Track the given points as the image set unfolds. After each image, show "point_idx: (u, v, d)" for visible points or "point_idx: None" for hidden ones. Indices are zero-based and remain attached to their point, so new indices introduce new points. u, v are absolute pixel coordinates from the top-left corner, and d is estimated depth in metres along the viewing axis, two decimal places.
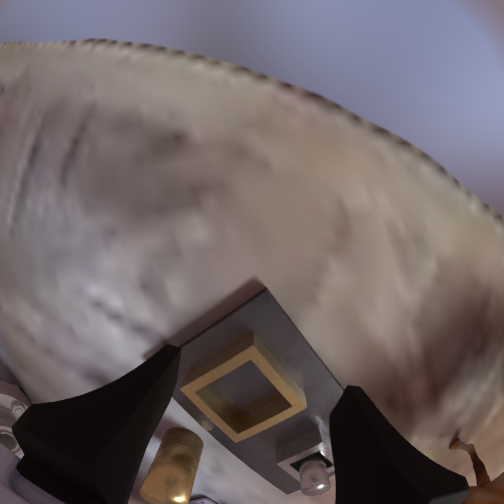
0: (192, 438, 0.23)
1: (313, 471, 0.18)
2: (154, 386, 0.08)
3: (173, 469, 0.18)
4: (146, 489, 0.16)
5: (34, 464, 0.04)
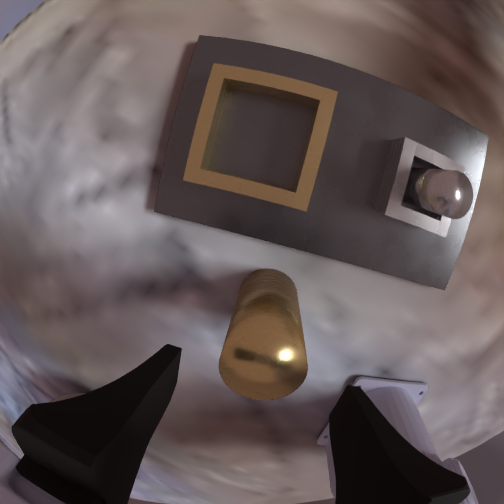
0: (268, 273, 0.19)
1: (431, 176, 0.12)
2: (154, 386, 0.08)
3: (251, 309, 0.14)
4: (225, 364, 0.12)
5: (34, 464, 0.04)
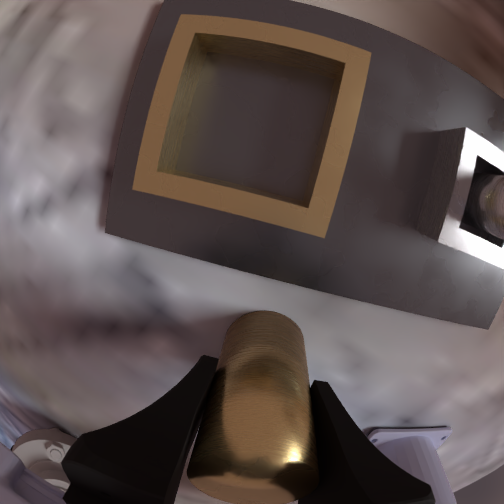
0: (264, 319, 0.13)
1: None
2: (200, 401, 0.08)
3: (235, 393, 0.09)
4: (197, 475, 0.07)
5: (83, 493, 0.04)
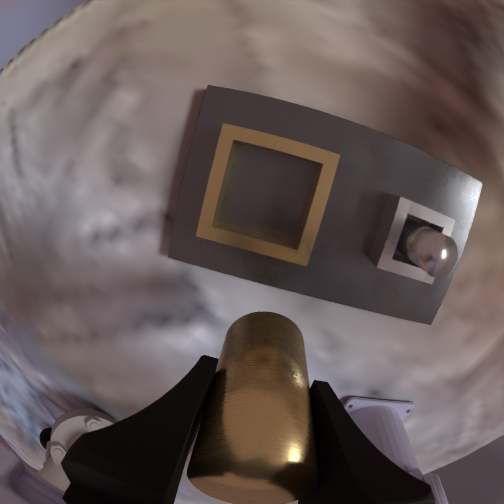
0: (263, 320, 0.13)
1: (420, 237, 0.14)
2: (200, 401, 0.08)
3: (234, 394, 0.09)
4: (197, 476, 0.07)
5: (83, 493, 0.04)
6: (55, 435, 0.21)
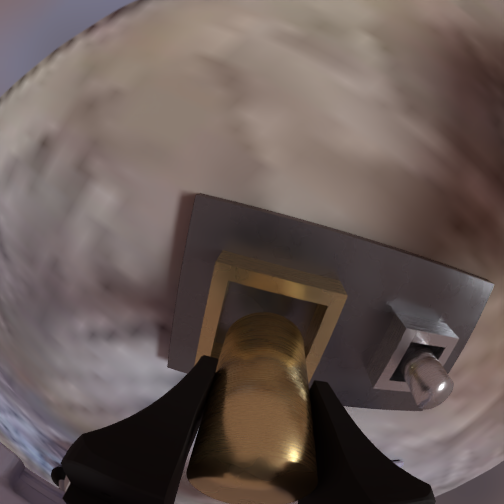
0: (262, 321, 0.13)
1: (419, 373, 0.13)
2: (201, 401, 0.08)
3: (233, 395, 0.09)
4: (196, 477, 0.07)
5: (83, 493, 0.04)
6: None
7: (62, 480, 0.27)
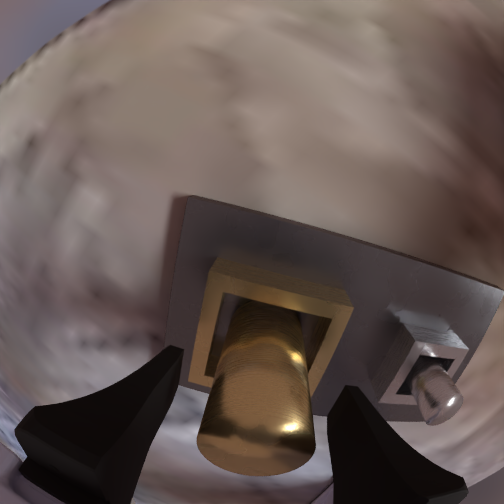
0: (264, 306, 0.14)
1: (428, 388, 0.12)
2: (157, 387, 0.08)
3: (239, 367, 0.10)
4: (206, 443, 0.08)
5: (37, 466, 0.04)
6: None
7: None
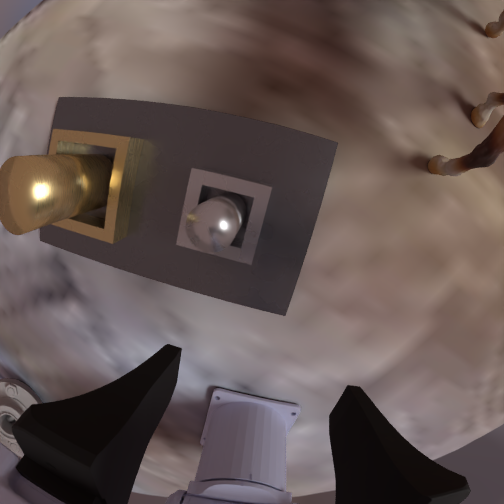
0: None
1: None
2: (154, 386, 0.08)
3: None
4: None
5: (34, 464, 0.04)
6: None
7: None
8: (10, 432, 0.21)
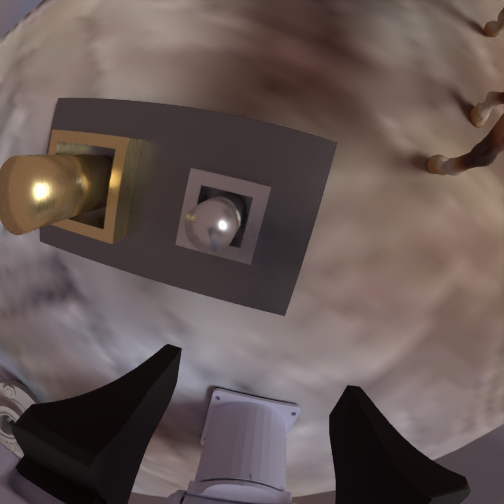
0: None
1: None
2: (154, 386, 0.08)
3: None
4: None
5: (34, 464, 0.04)
6: None
7: None
8: (8, 432, 0.21)
